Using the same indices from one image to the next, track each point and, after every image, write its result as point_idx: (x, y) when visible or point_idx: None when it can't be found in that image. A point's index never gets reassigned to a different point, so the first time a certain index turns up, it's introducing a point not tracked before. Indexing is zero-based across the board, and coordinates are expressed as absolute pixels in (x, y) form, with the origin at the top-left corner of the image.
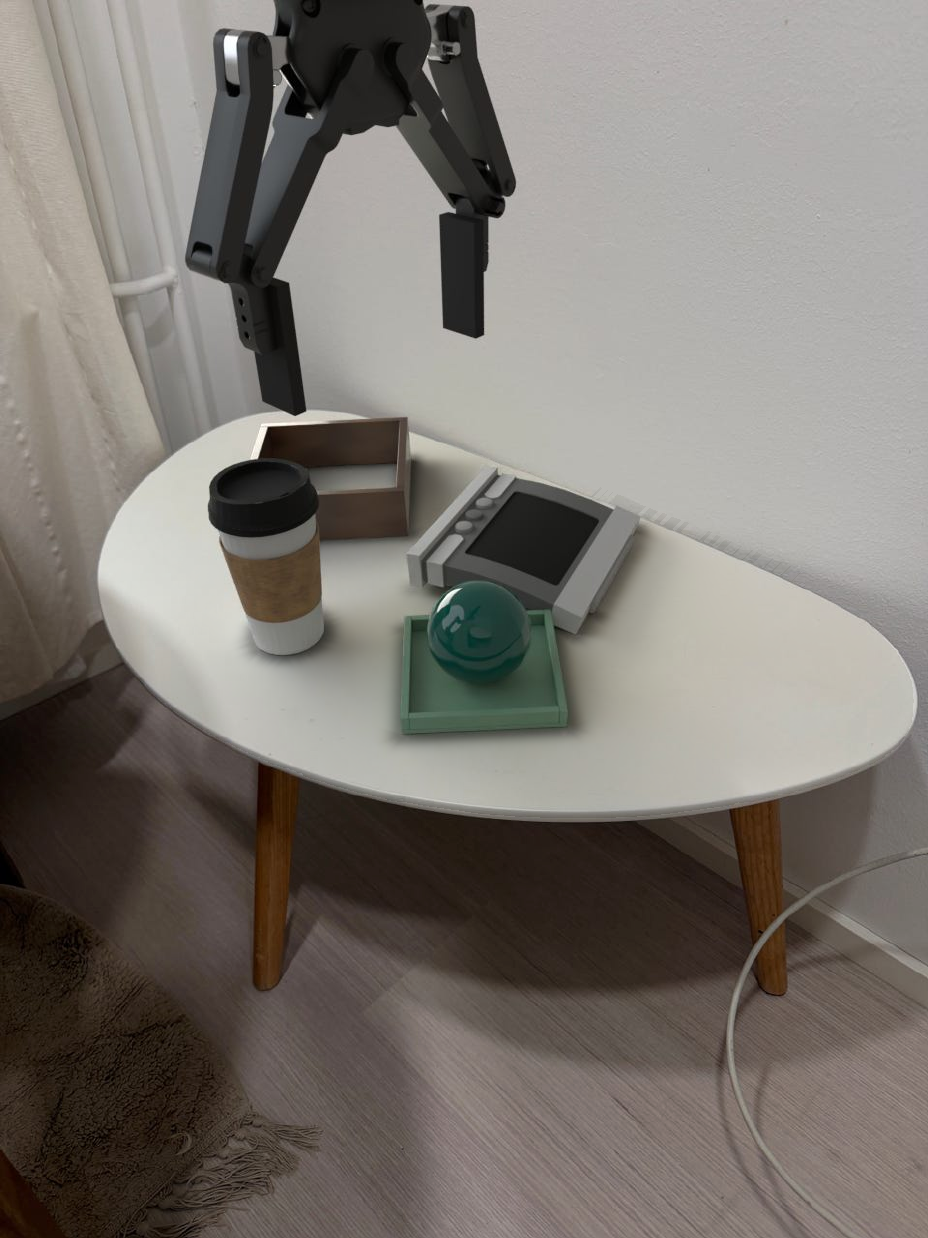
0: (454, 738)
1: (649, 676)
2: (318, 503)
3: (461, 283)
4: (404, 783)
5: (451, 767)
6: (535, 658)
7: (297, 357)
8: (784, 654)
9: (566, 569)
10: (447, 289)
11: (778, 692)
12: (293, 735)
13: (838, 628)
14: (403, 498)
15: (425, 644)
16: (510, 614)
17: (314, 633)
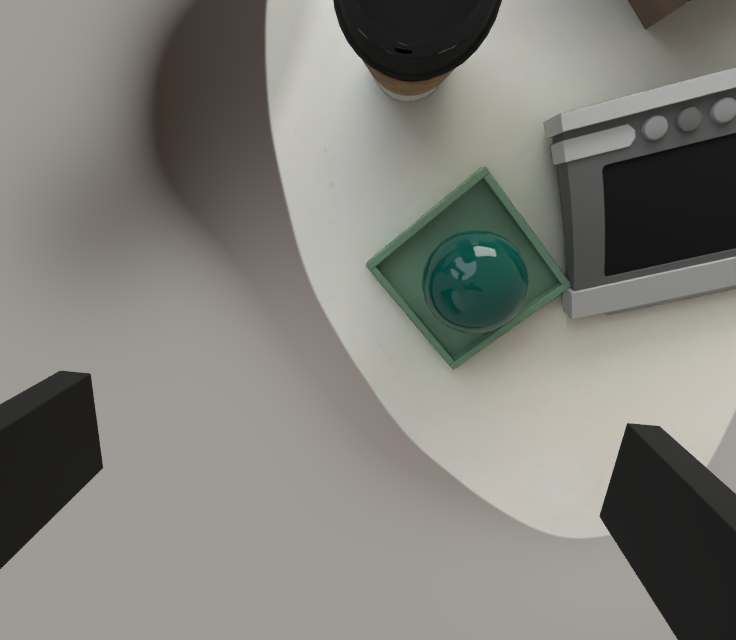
0: (389, 299)
1: (541, 386)
2: (468, 56)
3: (694, 589)
4: (328, 298)
5: (363, 316)
6: None
7: (4, 559)
8: None
9: (640, 267)
10: (688, 517)
11: (573, 468)
12: (309, 184)
13: None
14: (681, 3)
15: (470, 204)
16: (481, 328)
17: (412, 99)
